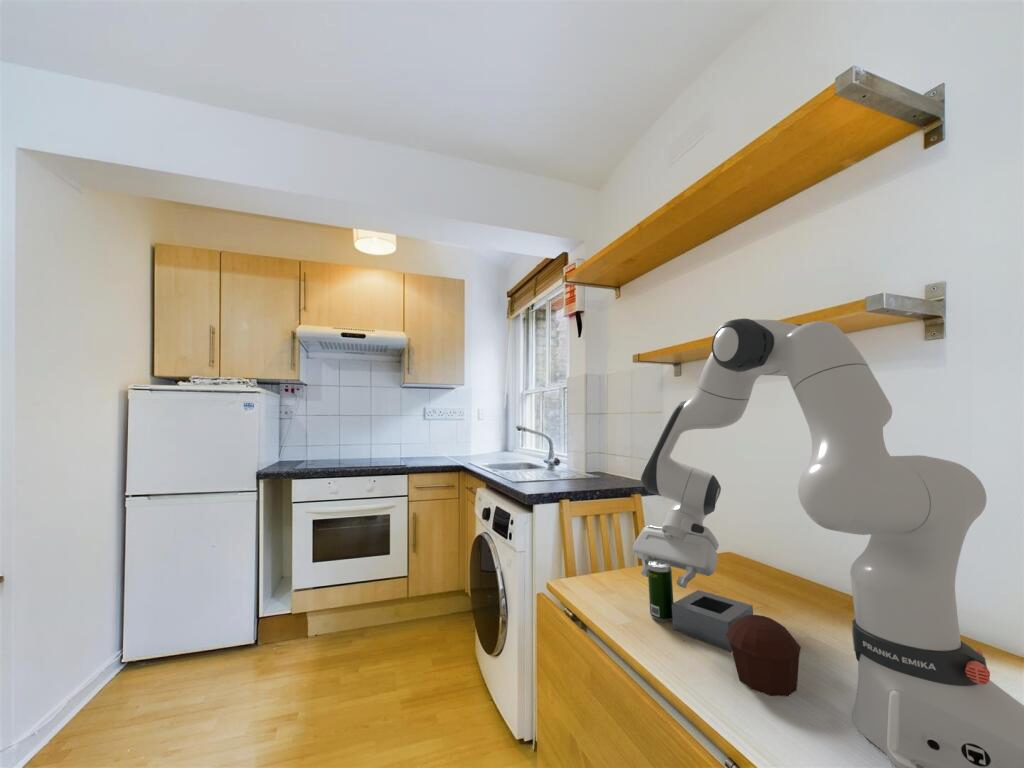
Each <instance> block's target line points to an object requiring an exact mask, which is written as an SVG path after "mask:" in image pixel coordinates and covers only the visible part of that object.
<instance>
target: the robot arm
mask: <svg viewBox="0 0 1024 768" xmlns="http://www.w3.org/2000/svg"><path fill="white" fill-rule="evenodd" d="M760 376H783V377H784V376H786V377H787V379H788V381H789V383H790V386H791V389H792V390H793V393H794V395H795V397H796V399H797V401H798V404H799V407H800V409H801V410H802V413H803V416H804V418H805V420H806V423H807V426H808V429H809V433H810V438H811V456H810V461H809V464H808V465H807V467H806V468H805V469H804V471H803V472H802V473H801V474H800V478H799V480H798V485H797V493H798V494H797V495H798V498H799V502H800V505H801V506H802V509H803V510H804V511H805V513H806V514H807V516H808V517H809V518H810V519H811V520H812V522H814V523H815V524H817V525H818V526H820V527H821V528H824V529H827V530H830V531H835V532H840V533H845V534H853V535H857V536H866V535H870V536H869V537H870V538H869V540H868V543H867V545H866V547H865V549H864V550H863V552H861V554H860V555H859V556H858V557H857V558H856V559H855V560H854V561H853V563H852V565H851V567H850V573H849V575H850V583H851V584H850V585H851V590H852V592H851V593H852V602H853V603H852V604H853V611H854V619H853V620H852V621H851V623H852V624H851V625H852V626H851V635H852V644H853V651H854V652H855V659H856V661H857V662H858V663H857V665H858V666H857V670H858V671H857V673H858V674H857V689H856V690H857V691H856V697H855V702H854V705H853V710H852V713H851V718H852V721H853V723H854V725H855V727H856V728H857V729H858V730H859V732H860V733H861V734H862V735H863V736H864V737H865V738H866V739H867V740H868V741H870V742H871V743H873V745H875V746H876V747H878V748H879V749H880V750H881V751H883V753H884V754H885V755H886V757H887V758H888V759H889V760H890V761H891V763H892V764H893V765H894V766H895V767H896V768H1024V704H1022V703H1021V702H1020V701H1018V699H1015V698H1014V697H1013V696H1012V695H1010V694H1009V693H1008V692H1006V691H1005V690H1004V689H1002V688H1001V687H1000V686H998V685H997V684H996V683H995V682H993V681H992V680H991V679H990V678H991V672H990V670H989V668H988V666H987V661H986V658H985V656H983V655H984V653H983V651H982V650H981V648H980V647H976V648H977V649H976V650H975V649H974V648H973V647H971V646H970V645H968V644H966V643H965V642H964V641H962V640H961V633H960V632H961V631H960V624H959V617H958V607H957V599H956V598H957V597H956V578H957V577H956V576H957V570H958V569H957V568H958V564H959V559H960V556H961V551H962V548H963V545H964V542H965V538H966V537H967V533H968V531H969V530H970V527H971V526H972V524H973V523H974V522H975V521H976V520H977V518H979V517H980V516H981V515H982V514H983V512H984V510H985V508H986V506H987V493H986V490H985V487H984V485H983V483H982V482H981V480H980V478H979V477H978V476H977V475H976V474H975V473H974V472H972V470H970V469H969V468H967V467H965V466H964V465H962V464H960V463H958V462H954V461H951V460H946V459H943V458H939V457H932V456H927V455H913V454H912V455H890V454H889V452H888V449H887V447H886V444H885V439H884V427H885V426H886V425H887V424H888V423H889V422H890V420H891V418H892V415H893V408H892V407H893V406H892V404H891V403H890V401H889V400H888V397H887V396H886V394H885V392H884V390H883V389H882V388H881V386H880V384H879V382H878V380H877V378H876V377H875V374H874V373H873V371H872V370H871V368H870V366H869V365H868V363H867V361H866V359H865V358H864V357H863V355H862V354H861V352H860V350H859V349H858V348H857V347H856V345H855V344H854V343H853V342H852V340H851V339H850V338H849V337H848V335H846V333H845V332H844V331H842V330H841V328H839V327H838V326H837V325H835V324H834V323H831V322H828V321H811V322H808V323H804V324H800V323H797V324H796V323H795V324H793V323H790V322H784V321H778V320H775V319H774V320H773V319H750V318H737V319H736V318H735V319H732V320H731V319H730V320H727V321H725V322H724V323H722V324H721V325H720V326H719V327H718V328H717V330H716V331H715V332H714V335H713V338H712V341H711V352H710V355H708V359H707V360H706V362H705V364H704V367H703V369H702V371H701V375H700V376H699V381H698V383H697V387H696V390H695V392H694V393H693V395H692V396H691V397H690V398H689V399H688V400H684V401H681V402H679V403H678V405H677V406H676V407H675V408H674V410H673V412H672V414H671V415H670V417H669V420H668V421H667V423H666V425H665V427H664V429H663V431H662V433H661V435H660V437H659V439H658V442H657V443H656V445H655V447H654V449H653V452H652V453H651V456H650V457H649V459H648V460H647V461H646V463H645V465H644V466H643V469H642V471H641V475H640V481H641V484H642V485H643V487H644V488H645V490H646V491H647V493H650V494H654V495H657V496H660V497H664V498H667V499H669V500H671V501H672V504H671V507H670V509H669V510H668V511H667V514H666V516H665V519H664V521H663V522H662V523H663V524H662V526H654V525H648V526H645V527H643V528H642V529H641V531H640V533H639V535H638V536H637V537H636V540H635V541H634V543H633V545H632V551H633V553H634V555H636V557H637V558H638V559H640V560H641V563H642V568H641V571H640V574H641V575H642V576H643V577H645V578H648V565H649V564H648V563H649V562H650V561H664V562H667V563H669V564H670V567H671V568H676V569H679V570H683V571H686V572H685V573H684V575H682V576H680V575H679V576H678V577H677V581H676V584H677V586H678V587H680V588H683V589H686V588H687V586H688V583H689V582H690V581H692V580H693V579H694V578H696V575H697V574H699V575H702V576H707V577H710V576H711V575H713V574H715V571H716V569H717V568H716V567H717V564H718V563H717V562H718V552H717V550H718V549H719V546H720V545H719V542H718V540H717V538H716V536H715V534H713V532H712V531H711V530H710V529H709V528H708V527H707V526H704V523H703V522H704V520H705V518H706V517H707V516H708V515H710V514H711V513H713V512H715V508H716V504H717V501H718V499H719V497H720V494H721V491H722V486H721V484H720V483H719V481H718V478H717V477H716V476H715V475H714V474H712V473H709V471H704V470H702V469H700V468H696V467H692V466H690V465H687V464H684V463H681V462H679V461H675V460H674V459H672V458H671V454H672V452H673V451H674V448H675V446H676V445H677V443H678V441H679V439H680V436H681V435H682V434H683V433H684V432H687V431H692V430H693V431H694V430H704V429H705V430H706V429H707V430H714V429H722V428H725V427H728V426H731V425H734V424H735V423H737V422H738V421H739V420H741V418H742V417H743V415H744V413H745V412H746V409H747V407H748V403H749V401H750V398H751V395H752V391H753V388H754V384H755V382H756V380H758V378H759V377H760Z"/></svg>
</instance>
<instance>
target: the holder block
mask: <svg viewBox="0 0 1024 768" xmlns="http://www.w3.org/2000/svg"><path fill="white" fill-rule="evenodd" d="M748 615H754V607H753V604H750V603H746V602H742V601H739V600H735V599H731V598H727V597H725V596H721V595H718V594H714V593H711V592H707V591H703V590H701V589H698V590H695V591H693V592H692V593H690V594H687V595H686V596H684V597H682V598H679V600H676V601H675V602H674V603H672V617H673V620H672V629H673V631H674V632H676V633H679V634H682V635H683V636H684V635H685V636H687V637H690V638H693V639H695V640H698V641H700V642H703V643H705V644H708V645H711V646H713V647H715V648H719V649H721V650H723V651H726V652H728V653H732V648H731V644H730V642H729V640H728V638H727V636H726V633H727V631H728V630H729V628H730V627H731V626H732V625H733V623H734V622H735V621H736V620H738V619H739V618H742V617H745V616H748Z"/></svg>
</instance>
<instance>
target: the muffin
mask: <svg viewBox="0 0 1024 768" xmlns="http://www.w3.org/2000/svg"><path fill="white" fill-rule="evenodd" d="M726 636H727V638H728V640H729V642H730V644H731V648H732V651H731V653H732V656H733V660H734V665H735V669H736V672H737V675H738V676H737V678H738V680H739V681H740V682H741V683H742V684H744V685H746V686H747V687H748V688H749V689H751V691H755V692H759V693H762V694H764V695H766V696H767V695H768V696H770V697H790V696H791V695H792V694H793V693H794V692H796V691H797V688H798V677H799V665H800V653H801V649H802V647H801V645H800V644H799V643H798V641H797V640H796V639H795V638H794V637H793V636H792V634H791V633H790V631H789V630H788V629H787V628H786V627H785V626H784V625H783V624H781V623H779V622H777V621H776V620H774V619H773V618H770V617H769V616H764V615H759V614H753V615H748V616H745V617H742V618H739V619H738V620H736V621H735V622H734V623H733V625H732V626H731V627H730V628H729V630H728V631H727V633H726ZM789 695H790V696H789Z"/></svg>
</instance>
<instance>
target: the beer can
mask: <svg viewBox="0 0 1024 768" xmlns="http://www.w3.org/2000/svg"><path fill="white" fill-rule="evenodd" d="M672 570H673V569H672V567H671V566H670V564H669V563H667V562H664V561H650V562H649V563H648V577H647V578H648V595H649V596H648V599H649V614H650V617H651V618H652V619H653V620H655V621H656V622H657V621H658V622H661V623H668V622H669V623H670V622H673V617H672V603H674V587H673V574H672V573H673V572H672Z"/></svg>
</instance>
